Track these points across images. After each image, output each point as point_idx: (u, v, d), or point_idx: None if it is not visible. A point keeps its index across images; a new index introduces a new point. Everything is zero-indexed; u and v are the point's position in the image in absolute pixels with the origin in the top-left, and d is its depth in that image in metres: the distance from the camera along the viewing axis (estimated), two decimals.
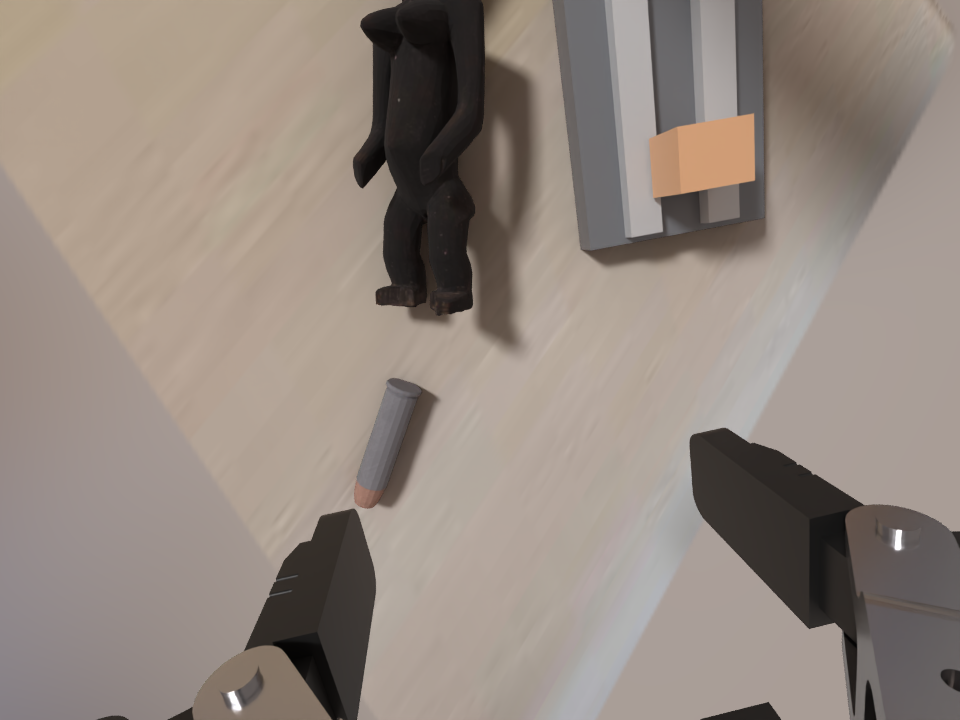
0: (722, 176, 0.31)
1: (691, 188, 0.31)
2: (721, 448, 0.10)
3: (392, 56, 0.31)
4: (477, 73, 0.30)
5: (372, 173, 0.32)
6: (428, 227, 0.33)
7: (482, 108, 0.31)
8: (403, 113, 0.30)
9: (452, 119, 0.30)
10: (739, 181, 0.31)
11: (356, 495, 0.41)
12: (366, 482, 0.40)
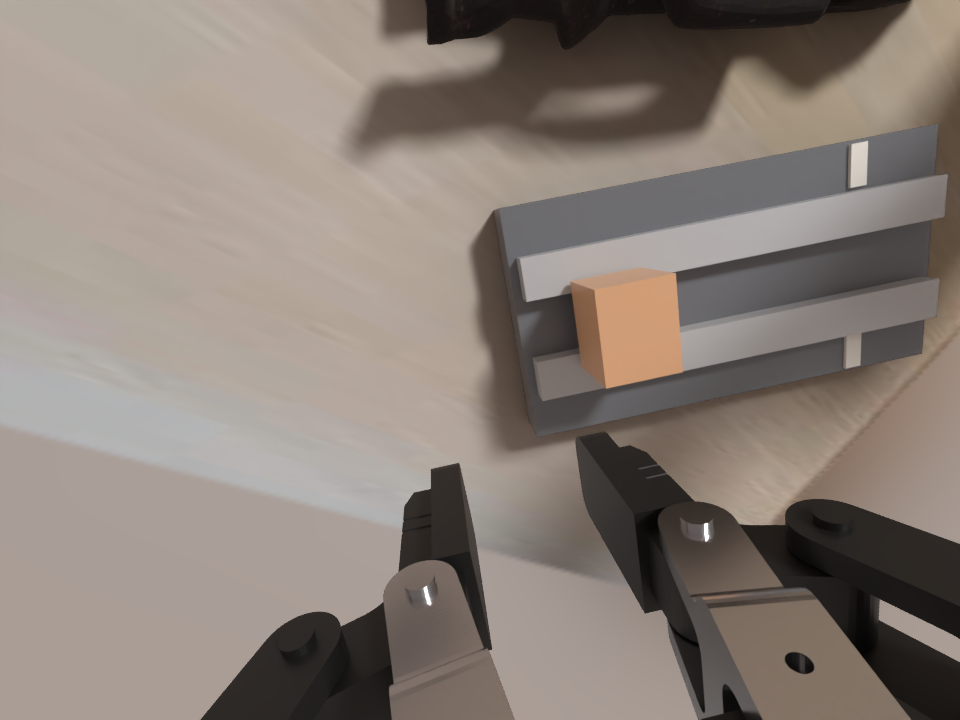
0: (613, 343, 0.23)
1: (600, 303, 0.23)
2: (592, 450, 0.11)
3: None
4: (750, 7, 0.22)
5: None
6: None
7: (706, 22, 0.22)
8: None
9: None
10: (605, 368, 0.24)
11: None
12: None
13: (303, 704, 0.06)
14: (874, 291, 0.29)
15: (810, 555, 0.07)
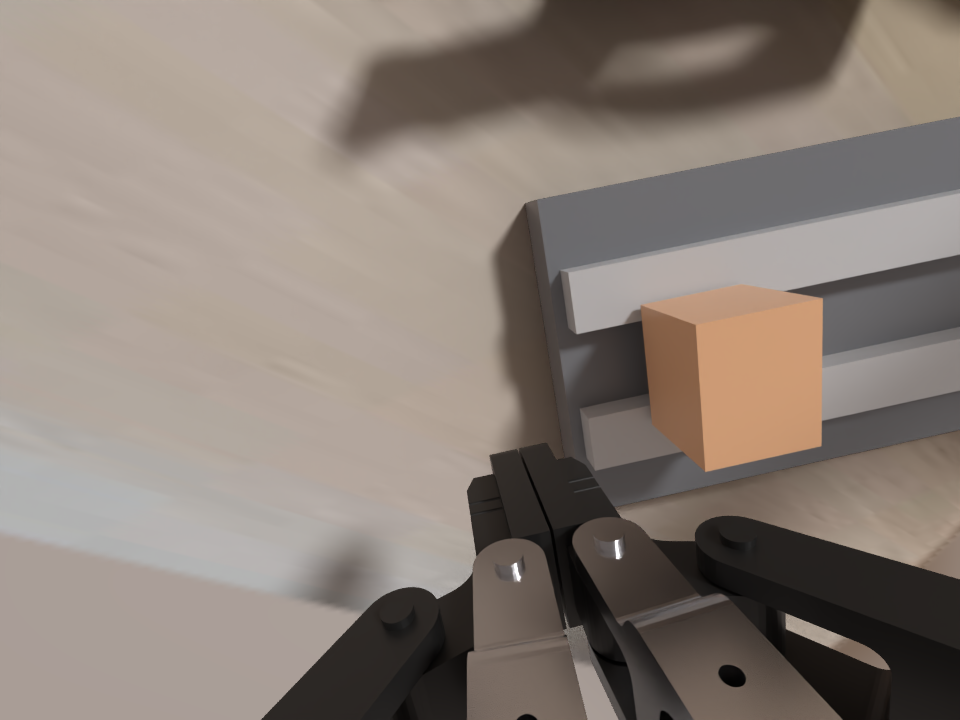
0: (719, 405, 0.15)
1: (704, 345, 0.15)
2: (529, 462, 0.11)
3: None
4: None
5: None
6: None
7: None
8: None
9: None
10: (706, 442, 0.15)
11: None
12: None
13: (398, 679, 0.06)
14: None
15: (724, 578, 0.07)
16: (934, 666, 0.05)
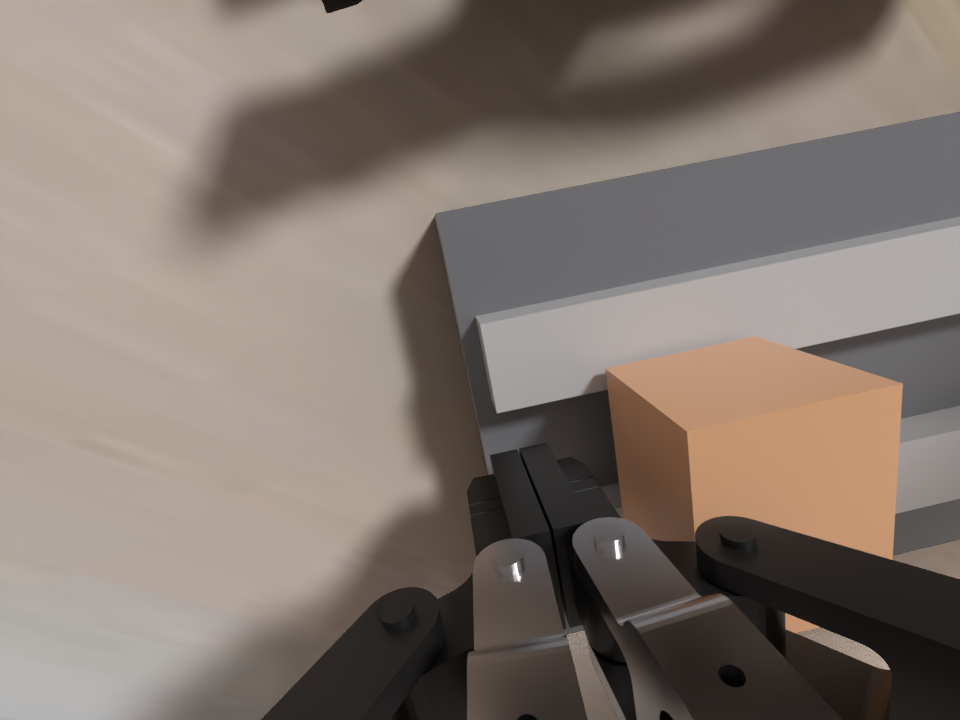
0: None
1: (702, 464, 0.09)
2: (529, 462, 0.11)
3: None
4: None
5: None
6: None
7: None
8: None
9: None
10: None
11: None
12: None
13: (398, 679, 0.06)
14: None
15: (724, 578, 0.07)
16: (934, 666, 0.05)
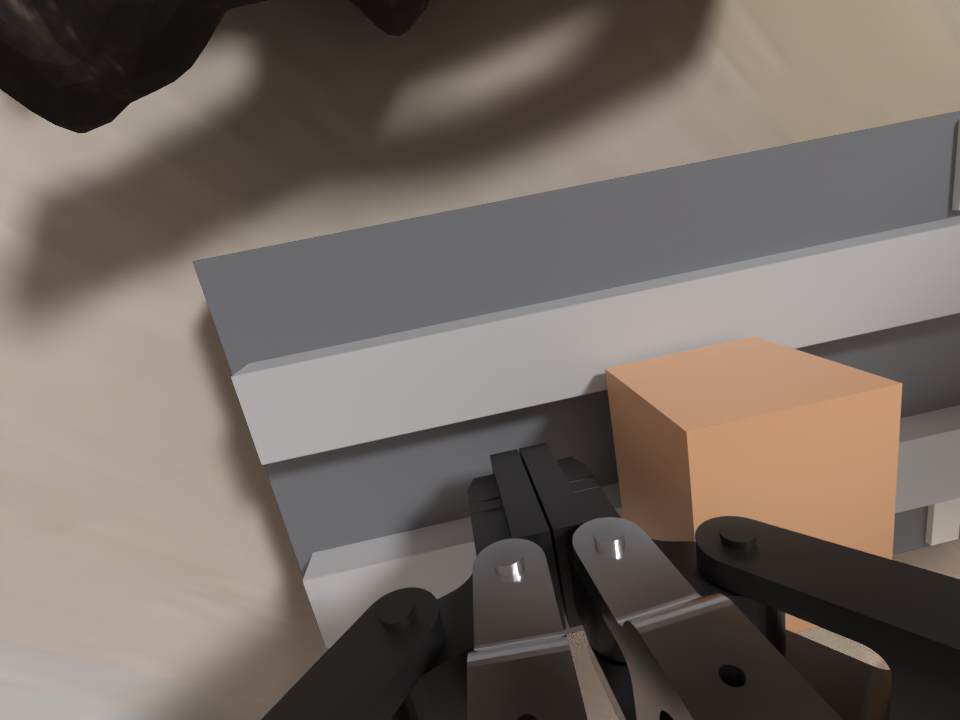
0: None
1: (702, 465, 0.09)
2: (529, 462, 0.11)
3: None
4: None
5: None
6: None
7: None
8: None
9: None
10: None
11: None
12: None
13: (398, 680, 0.06)
14: None
15: (724, 578, 0.07)
16: (934, 666, 0.05)
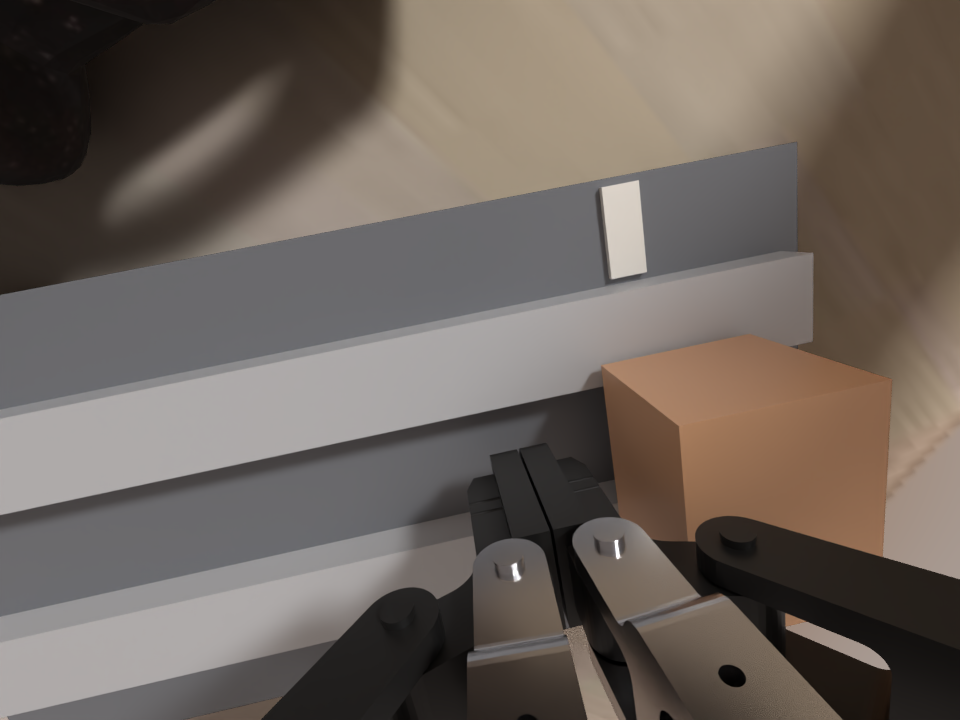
0: None
1: (694, 459, 0.09)
2: (529, 462, 0.11)
3: None
4: None
5: None
6: None
7: None
8: None
9: None
10: None
11: None
12: None
13: (398, 679, 0.06)
14: None
15: (724, 578, 0.07)
16: (934, 666, 0.05)
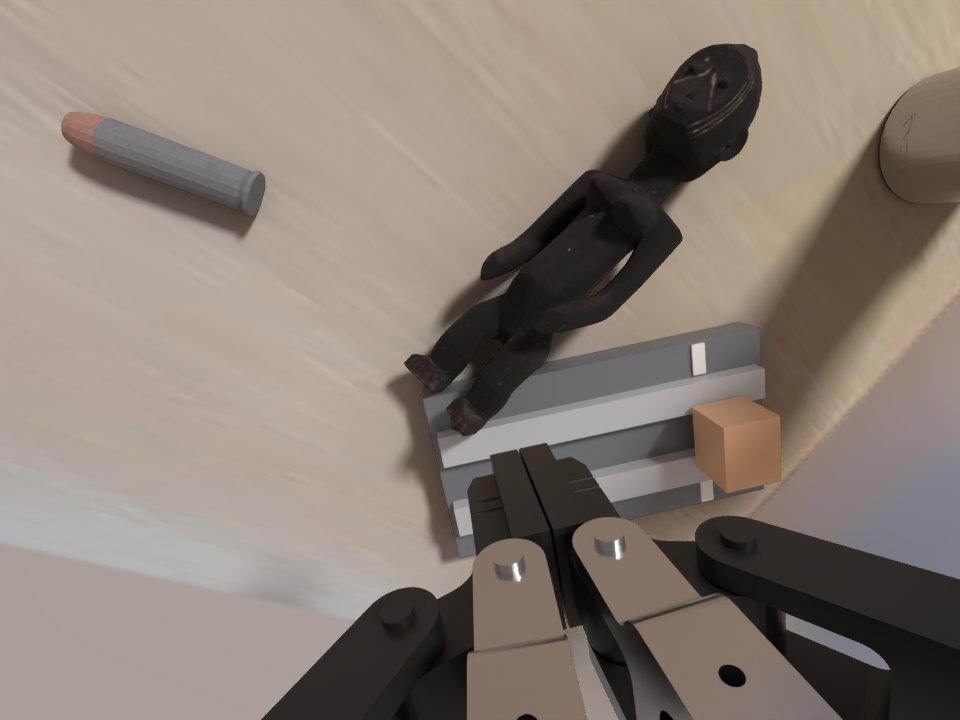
0: (734, 463, 0.33)
1: (727, 437, 0.32)
2: (529, 462, 0.11)
3: (589, 211, 0.31)
4: (637, 283, 0.31)
5: (498, 275, 0.31)
6: (502, 351, 0.32)
7: None
8: (564, 263, 0.30)
9: (593, 299, 0.31)
10: (727, 479, 0.33)
11: (82, 115, 0.29)
12: (104, 132, 0.29)
13: (398, 678, 0.06)
14: None
15: (724, 579, 0.07)
16: (934, 666, 0.05)
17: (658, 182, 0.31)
